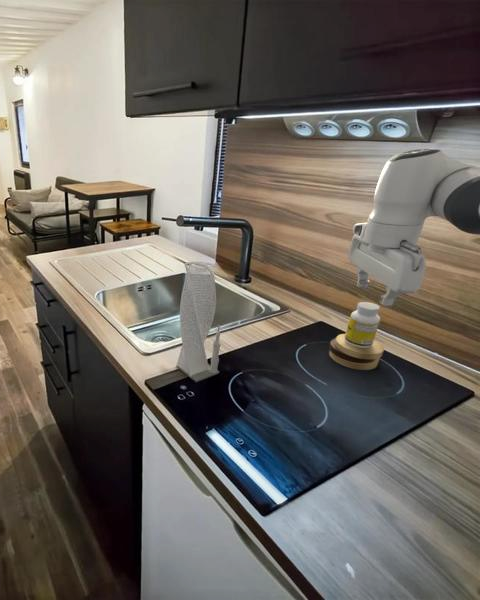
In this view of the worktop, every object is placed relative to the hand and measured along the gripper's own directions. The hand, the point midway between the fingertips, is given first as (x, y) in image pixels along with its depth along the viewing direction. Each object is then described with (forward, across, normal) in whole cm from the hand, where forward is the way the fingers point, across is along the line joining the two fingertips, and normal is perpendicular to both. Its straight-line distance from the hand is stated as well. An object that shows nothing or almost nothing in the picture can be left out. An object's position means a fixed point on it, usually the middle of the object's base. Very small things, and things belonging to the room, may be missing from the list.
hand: (373, 295), depth 81 cm
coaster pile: (+17, 0, 0) cm, 17 cm away
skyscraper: (+16, -8, +38) cm, 43 cm away
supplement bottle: (+12, 0, 0) cm, 13 cm away
